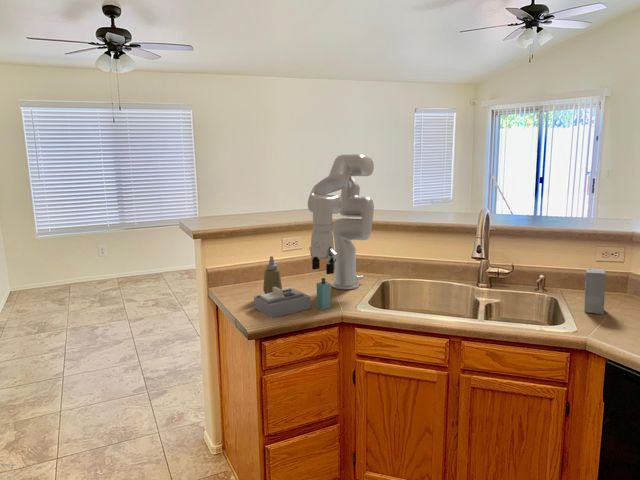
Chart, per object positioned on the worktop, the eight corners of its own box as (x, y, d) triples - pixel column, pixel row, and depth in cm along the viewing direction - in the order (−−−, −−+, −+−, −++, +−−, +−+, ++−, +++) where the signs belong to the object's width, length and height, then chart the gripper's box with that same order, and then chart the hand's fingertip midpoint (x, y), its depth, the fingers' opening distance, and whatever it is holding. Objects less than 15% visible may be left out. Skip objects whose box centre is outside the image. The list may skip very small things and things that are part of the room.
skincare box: (603, 315, 173) (607, 274, 170) (581, 312, 177) (585, 271, 174) (604, 308, 180) (608, 269, 177) (582, 305, 184) (586, 267, 181)
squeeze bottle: (279, 300, 196) (278, 259, 193) (261, 299, 198) (259, 258, 194) (284, 294, 204) (283, 254, 201) (267, 293, 206) (265, 254, 202)
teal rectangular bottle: (325, 304, 190) (324, 276, 188) (330, 307, 187) (330, 278, 184) (317, 306, 188) (316, 278, 185) (322, 309, 184) (322, 280, 182)
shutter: (275, 294, 188) (275, 286, 187) (284, 298, 182) (284, 290, 182) (260, 297, 184) (260, 289, 183) (268, 301, 178) (268, 293, 178)
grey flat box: (292, 299, 197) (292, 286, 196) (310, 308, 186) (310, 294, 185) (254, 308, 187) (253, 294, 186) (271, 318, 176) (270, 303, 175)
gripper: (302, 226, 186) (303, 268, 189) (327, 232, 172) (327, 277, 175) (317, 225, 190) (318, 266, 193) (343, 230, 176) (343, 274, 179)
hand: (322, 271), depth 184 cm, fingers open, 9 cm apart
